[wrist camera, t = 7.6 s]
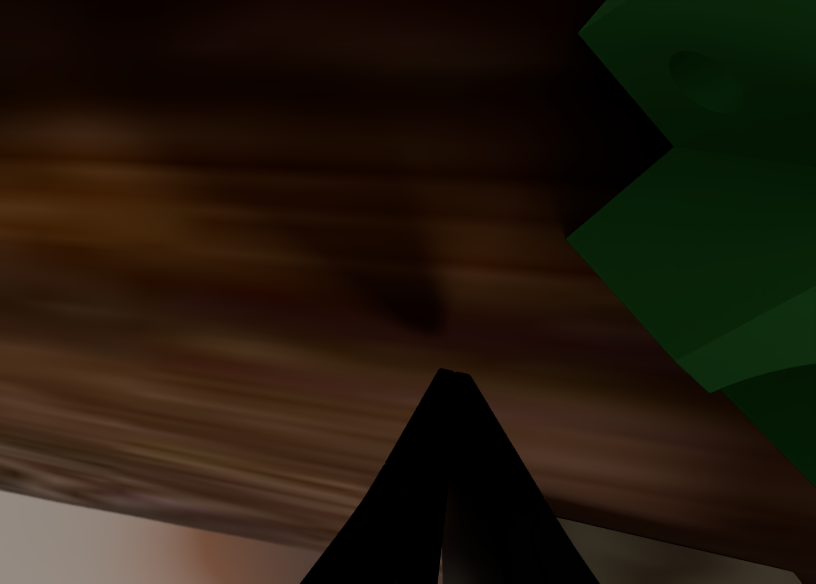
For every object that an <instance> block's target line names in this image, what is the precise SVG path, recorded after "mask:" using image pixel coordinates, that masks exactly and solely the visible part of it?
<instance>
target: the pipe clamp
mask: <svg viewBox="0 0 816 584" xmlns="http://www.w3.org/2000/svg"><path fill="white" fill-rule="evenodd" d="M578 34H579V36H580V37H581V38H582V39H583V40H584V42H585V43H586V44H587V45H588V46H589V47H590V49H591V50H592V51H593V52H594V53H595V54H596V56H597V57H598V58H599V59H600V60H601V62H602V63H603V64H604V65H605V66H606V67H607V69H608V70H609V71H610V72H611V73H612V74H613V76H614V77H615V78H616V79H617V80H618V81H619V83H620V84H621V85H622V86H623V87H624V89H625V90H626V91H627V92H628V93H629V94H630V96H631V97H632V98H633V99H634V100H635V101H636V103H637V104H638V105H639V106H640V107H641V109H642V110H643V111H644V112H645V113H646V114H647V116H648V117H649V118H650V119H651V120H652V121H653V123H654V124H655V125H656V126H657V127H658V129H659V130H660V131H661V132H662V133H663V134H664V136H665V137H666V138H667V139H668V140H669V141H670V143H671V144H672V145H673V146H674V147H673V148H672V149H671V150H670V151H668V152H667V153H666V154H665V155H664V156H663V157H661V158H660V159H659V160H658V161H657V162H655V163H654V164H653V165H652V166H651V167H650V168H648V169H647V170H646V171H645V172H644V173H643V174H641V175H640V176H639V177H638V178H637V179H635V180H634V181H633V182H632V183H631V184H630V185H628V186H627V187H626V188H625V189H624V190H623V191H621V192H620V193H619V194H618V195H617V196H616V197H614V198H613V199H612V200H611V201H610V202H608V203H607V204H606V205H605V206H604V207H603V208H601V209H600V210H599V211H598V212H597V213H596V214H594V215H593V216H592V217H591V218H590V219H588V220H587V221H586V222H585V223H584V224H583V225H581V226H580V227H579V228H578V229H577V230H576V231H574V232H573V233H572V234H571V235H570V236H568V237H567V238H566V240H567V241H568V242H569V243H570V245H571V246H572V247H573V248H574V249H575V250H576V251H577V252H578V253H579V255H580V256H581V257H582V258H583V259H584V260H585V261H586V262H587V263H588V265H589V266H590V267H591V268H592V269H593V270H594V271H595V272H596V274H597V275H598V276H599V277H600V278H601V279H602V280H603V281H604V282H605V284H606V285H607V286H608V287H609V288H610V289H611V290H612V291H613V293H614V294H615V295H616V296H617V297H618V298H619V299H620V300H621V301H622V303H623V304H624V305H625V306H626V307H627V308H628V309H629V310H630V311H631V313H632V314H633V315H634V316H635V317H636V318H637V319H638V320H639V322H640V323H641V324H642V325H643V326H644V327H645V328H646V329H647V330H648V332H649V333H650V334H651V335H652V336H653V337H654V338H655V339H656V340H657V342H658V343H659V344H660V345H661V346H662V347H663V348H664V349H665V351H666V352H667V353H668V354H669V355H670V356H671V357H672V358H673V359H674V361H675V362H676V363H678V364H679V365H680V366H681V367H682V368H683V369H684V370H685V371H686V372H687V373H688V374H689V375H691V376H692V377H693V378H694V379H695V380H696V381H697V382H698V383H699V384H700V385H701V386H702V387H703V388H705V389H706V390H707V391H708V392H709V393H712V392H714V391H716V390H719V389H720V390H721V391H722V392H723V393H724V394H725V395H726V396H727V397H728V398H729V399H730V400H731V401H732V402H733V403H734V404H735V405H736V406H737V407H738V408H739V409H740V410H741V411H742V412H743V413H744V414H745V415H746V416H747V418H748V419H749V420H750V421H751V422H752V423H753V424H754V425H755V426H756V427H757V428H758V429H759V430H760V431H761V432H762V433H763V434H764V435H765V436H766V437H767V438H768V439H769V440H770V441H771V442H772V443H773V444H774V445H775V446H776V447H777V448H778V450H779V451H780V452H781V453H782V454H783V455H784V456H785V457H786V458H787V459H788V460H789V461H790V462H791V463H792V464H793V465H794V466H795V467H796V468H797V469H798V470H799V471H800V472H801V473H802V474H803V475H804V476H805V477H806V478H807V479H808V480H809V482H810V483H811V484H812V485H813V486H814V487H815V488H816V0H606V1H605V2H604V3H603V4H602V5H601V7H600V8H599V9H598V10H597V11H596V12H595V14H594V15H593V16H592V17H591V18H590V20H589V21H588V22H587V23H586V24H585V25H584V27H583V28H582V29H581V30H580V31H579V32H578Z"/></svg>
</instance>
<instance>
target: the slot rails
mask: <svg viewBox="0 0 816 584" xmlns="http://www.w3.org/2000/svg"><path fill="white" fill-rule="evenodd" d="M556 518H557V517H556ZM557 519H558V521H559V522H560V524H561V526H562V527H563V529H564V530H565V532H566V534H567V535H568V537H569V538H570V540H571V541H572V543H573V545H574V546H575V548H576V549H577V551H578V552H579V554H580V555H581V557H582V558H583V560H584V561H585V562H586V564H587V565H588V567H589V568H590V570H591V571H592V573H593V574H594V576H595V577H596V579H597V580H598V581H599V583H600V584H802V583H801V582H800V580H799V579H798V578H797V576H796V575H795V574H794V572H791V571H787V570H782V569H778V568H774V567H769V566H765V565H761V564H756V563H752V562H748V561H743V560H739V559H735V558H730V557H726V556H722V555H717V554H713V553H709V552H704V551H700V550H696V549H691V548H687V547H683V546H678V545H674V544H670V543H665V542H661V541H657V540H652V539H648V538H644V537H639V536H635V535H631V534H626V533H622V532H618V531H613V530H609V529H605V528H600V527H596V526H592V525H587V524H583V523H579V522H574V521H570V520H566V519H561V518H557Z"/></svg>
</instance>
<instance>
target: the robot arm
mask: <svg viewBox="0 0 816 584" xmlns="http://www.w3.org/2000/svg"><path fill="white" fill-rule="evenodd" d="M543 499H544V496H543V495H542V493H541V491H540V490H539V488H538V486H537V485H536V483H535V481H534V480H533V478H532V476H531V475H530V473H529V471H528V470H527V468H526V467H525V465H524V463H523V462H522V460H521V458H520V457H519V455H518V453H517V452H516V450H515V448H514V447H513V445H512V443H511V442H510V440H509V438H508V437H507V435H506V433H505V432H504V430H503V428H502V427H501V425H500V423H499V422H498V420H497V418H496V417H495V415H494V413H493V412H492V410H491V408H490V407H489V405H488V403H487V402H486V400H485V398H484V397H483V395H482V394H481V392H480V390H479V389H478V387H477V385H476V384H475V382H474V380H473V379H472V377H471V376H470V375H469V374H466V373H461V372H455V373H454V372H453V371H452V370H447V369H443V368H440V369H439V370H438V371H437V373H436V375H435V377H434V378H433V380H432V382H431V384H430V385H429V387H428V389H427V391H426V392H425V394H424V396H423V398H422V399H421V401H420V403H419V405H418V406H417V408H416V410H415V411H414V413H413V415H412V417H411V418H410V420H409V422H408V424H407V425H406V427H405V429H404V431H403V432H402V434H401V436H400V438H399V439H398V441H397V443H396V445H395V446H394V448H393V450H392V452H391V453H390V455H389V457H388V459H387V460H386V462H385V465H383V467H382V469H381V470H380V472H379V474H378V476H377V477H376V479H375V481H374V482H373V484H372V485H371V487H370V489H369V490H368V492H367V494H366V495H365V497H364V498H363V500H362V501H361V503H360V504H359V506H358V507H357V508H356V510H355V511H354V513H353V514H352V515H351V517H350V518H349V520H348V521H347V522H346V524H345V525H344V526H343V528H342V529H341V530H340V532H339V533H338V534H337V536H336V537H335V538H334V540H333V541H332V542H331V543H330V545H329V546H328V547H327V549H326V550H325V551H324V553H323V554H322V555H321V557H320V558H319V559H318V561H317V562H316V563H315V565H314V566H313V567H312V568H311V570H310V571H309V573H308V574H307V575H306V576H305V578H304V579H303V580H302V581H301V583H300V584H438V575H439V566H440V557H441V549H442V575H443V584H600V583H599V581H598V580H597V579H596V577H595V576H594V574H593V573H592V571H591V570H590V568H589V567H588V565H587V564H586V562H585V561H584V560H583V558H582V557H581V555H580V554H579V552H578V551H577V549H576V548H575V546H574V545H573V543H572V541H571V540H570V538H569V537H568V535H567V534H566V532H565V530H564V529H563V527H562V526H561V524H560V522H559V521H558V519H557V518H556V516H555V514H554V513H553V511H552V509H551V508H550V506H549V504H548V503H547V501H546V500H543Z"/></svg>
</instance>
